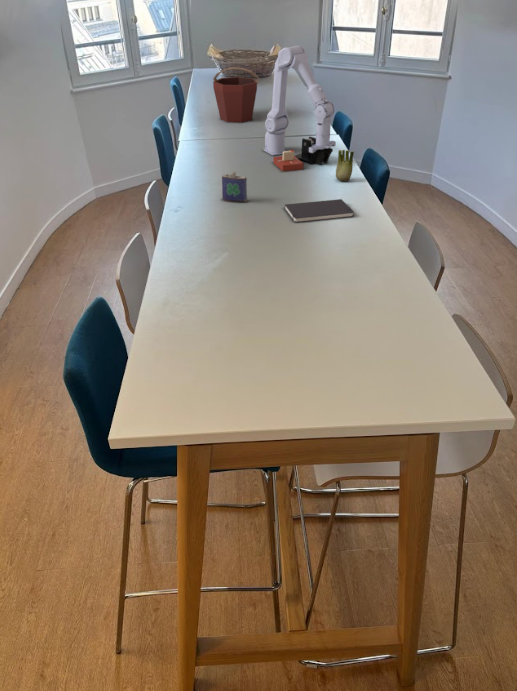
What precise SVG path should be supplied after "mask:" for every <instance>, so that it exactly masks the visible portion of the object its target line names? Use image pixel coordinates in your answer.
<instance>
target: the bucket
mask: <svg viewBox="0 0 517 691" xmlns="http://www.w3.org/2000/svg"><path fill="white" fill-rule="evenodd" d="M229 70H238V71H243V72H246V73H249V75H250V76H252V78H251V77H243V76H231V77H230V76H229V77H220V78H218V76H220V75H221V74H222V73H224V72H226V71H229ZM217 78H218V79H217ZM256 79H257V80H256ZM212 80H213V81H212V84H213V86H212V87H213V92H214V97H215V101H216V105H217V109H218V114H219V119H220V120H221V121H223V122H226V123H239V124H241V123H245V122H250V121H252V120H253V115H254V111H255V110H254V109H255V103H256V97H257V90H258V84H259V82H260V80H261V79H260V77H259V76H258V75H257V74H256V73H255V72H254V71H253V70H251V69H247V68H245V67H237V66H229V67H227V68H224V69H222V70H220V71H219V72H217V73H216V74H214V76H213V78H212Z"/></svg>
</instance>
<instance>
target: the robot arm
mask: <svg viewBox="0 0 517 691" xmlns="http://www.w3.org/2000/svg"><path fill="white" fill-rule="evenodd" d="M289 69H293V70H297V71H298V72H299V73H300V75H301V77H302V79H303V81H304V82H305V84H306V86H307V88H308V89H307V95H308V96H309V99H310V101H311V102H312V105H313V107H314V109H315V110H313V113H314V117H315V122H316V130H315V131H316V133H315V138H316V144H315V145H313V146H312V147H309V152H310V153H312V154H313V156H314V159H315V163H314V164H316V165H318V166H322V164H328V163H329V159H330V157H331V155H332V153H333V151H334V149H333V148H332V147H336V146H337V144H336V143H337V142H336V141H335V140H331V126H332V125H331V124H332V116H333V115H334V113H335V106H334V103H333V102H332V101H330V100H329V99H328V98H327V96H326V94H325V92H324V87H323V86H321V84H318V83H317V82H316V79H315V77H314V74H313V72H312V70H311V67H310V65H309V62H308V54H307V53H306V51H305V48H304V47H303V46H302V45H299V44H297V45H294V46H289V47H283V48H282V49H280V50H279V51H278V53H277V59H276V61H275V63H274V71H273V86H272V100H271V101H272V102H271V103H272V104H271V109H270V110H269V111H268V113H267V114H266V115H267V116H266V119H265V123H264V127H265V130H266V132H265V134H264V148H262V150H263V151H264V152H266V153H267V154H269V155H270V156H278V155H280V156H281V155H283V151H286V149H285V147H286V146H285V145H286V131H287V128H288V127H289V125H290V124H289V123H290V122H289V117H288V116H289V114H288V111H287V110H286V99H287V98H286V97H287V85H288V72H289ZM324 153H325V158H324V159H322V158H323V155H324Z"/></svg>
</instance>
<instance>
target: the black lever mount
mask: <svg viewBox="0 0 517 691" xmlns="http://www.w3.org/2000/svg"><path fill="white" fill-rule="evenodd" d="M309 138H311V139H312V140H313V141H314V144H313V145H315V144H316V137H314V136H308V138H302V139H301V153H298V154H294V156H295V157H296V158H297V159H299V160H300V161H301V162H302V163H305V164H308V165H314V164H316V163H315V159H314V156H313V154H312V153H310V152H309V147H311V140H308V139H309Z"/></svg>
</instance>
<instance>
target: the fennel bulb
mask: <svg viewBox="0 0 517 691" xmlns="http://www.w3.org/2000/svg"><path fill="white" fill-rule="evenodd" d="M337 152H338V153H337V154H338V157H337V162H336V163H337V164H336V169H335V178H336V180H338V181H340V182H348V181H350V179H351V178H352V174H353V168H354V167H353V163H354V152H355V151H354V150H349V149H346V150H345V149H338V151H337Z"/></svg>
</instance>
